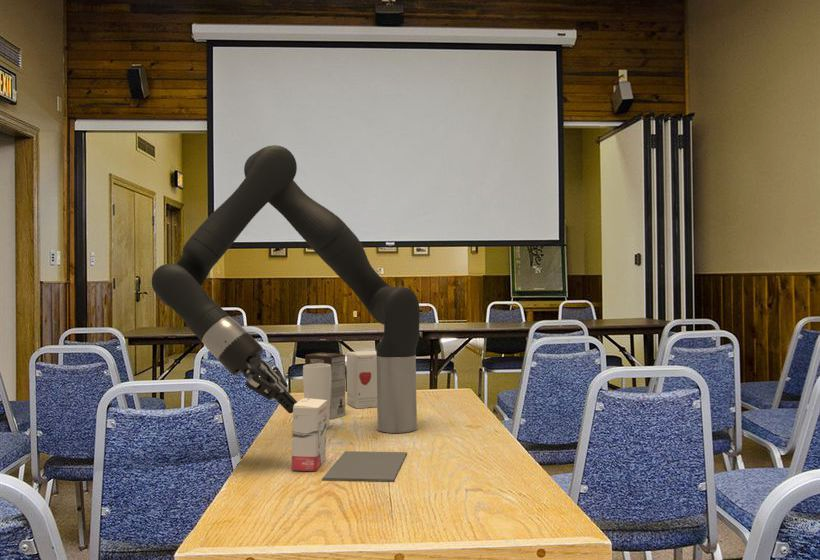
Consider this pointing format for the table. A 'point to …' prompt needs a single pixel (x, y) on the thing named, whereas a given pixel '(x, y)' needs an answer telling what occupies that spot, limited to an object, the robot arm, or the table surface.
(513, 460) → the table surface
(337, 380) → the coffee box
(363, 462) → the charcoal mat
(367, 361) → the supplement box
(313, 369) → the drinking glass
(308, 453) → the ink box
